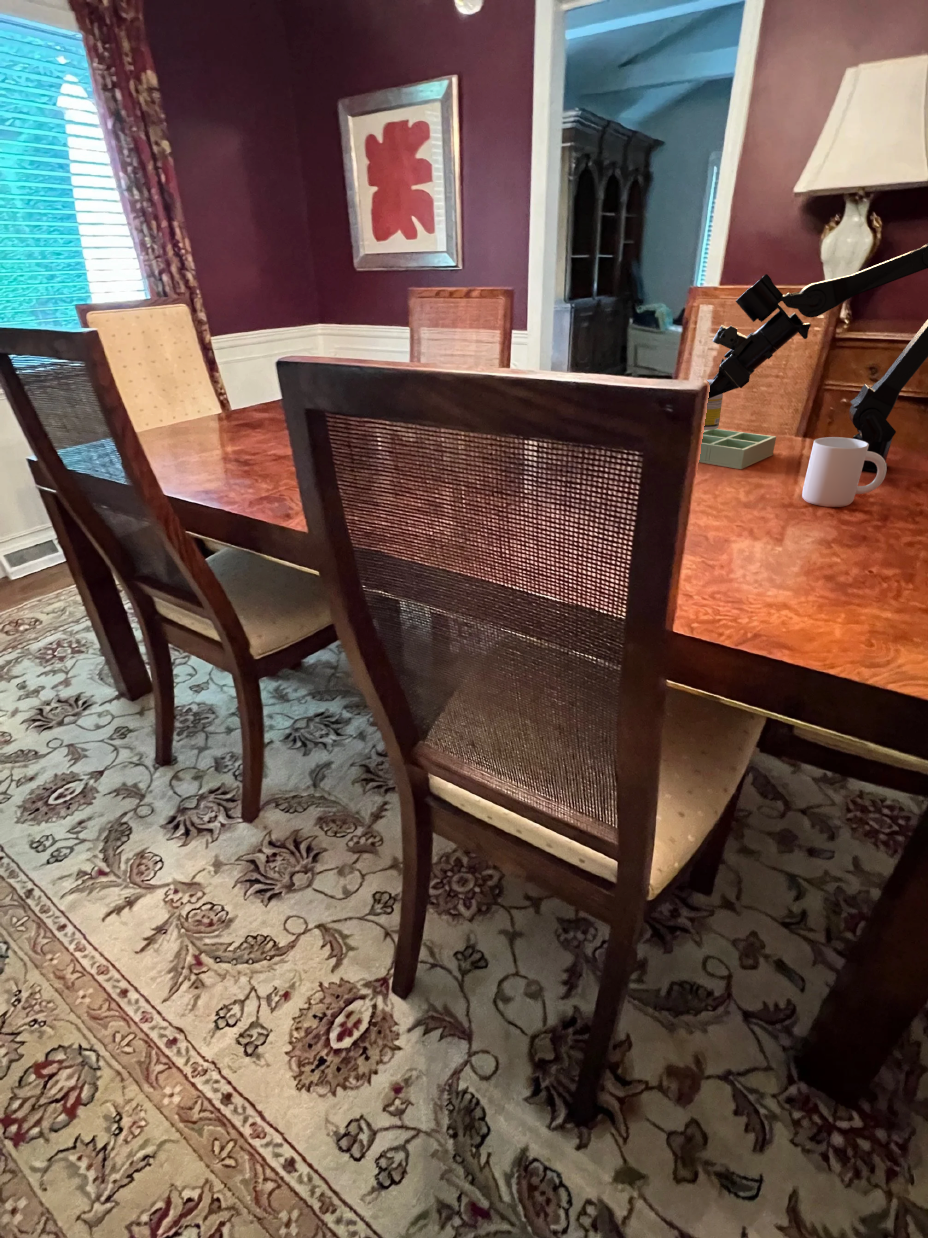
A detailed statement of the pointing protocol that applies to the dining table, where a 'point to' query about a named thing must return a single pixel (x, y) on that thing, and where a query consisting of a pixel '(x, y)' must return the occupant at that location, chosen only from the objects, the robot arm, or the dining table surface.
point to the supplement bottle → (713, 411)
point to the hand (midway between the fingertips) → (702, 396)
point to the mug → (839, 471)
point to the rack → (735, 448)
